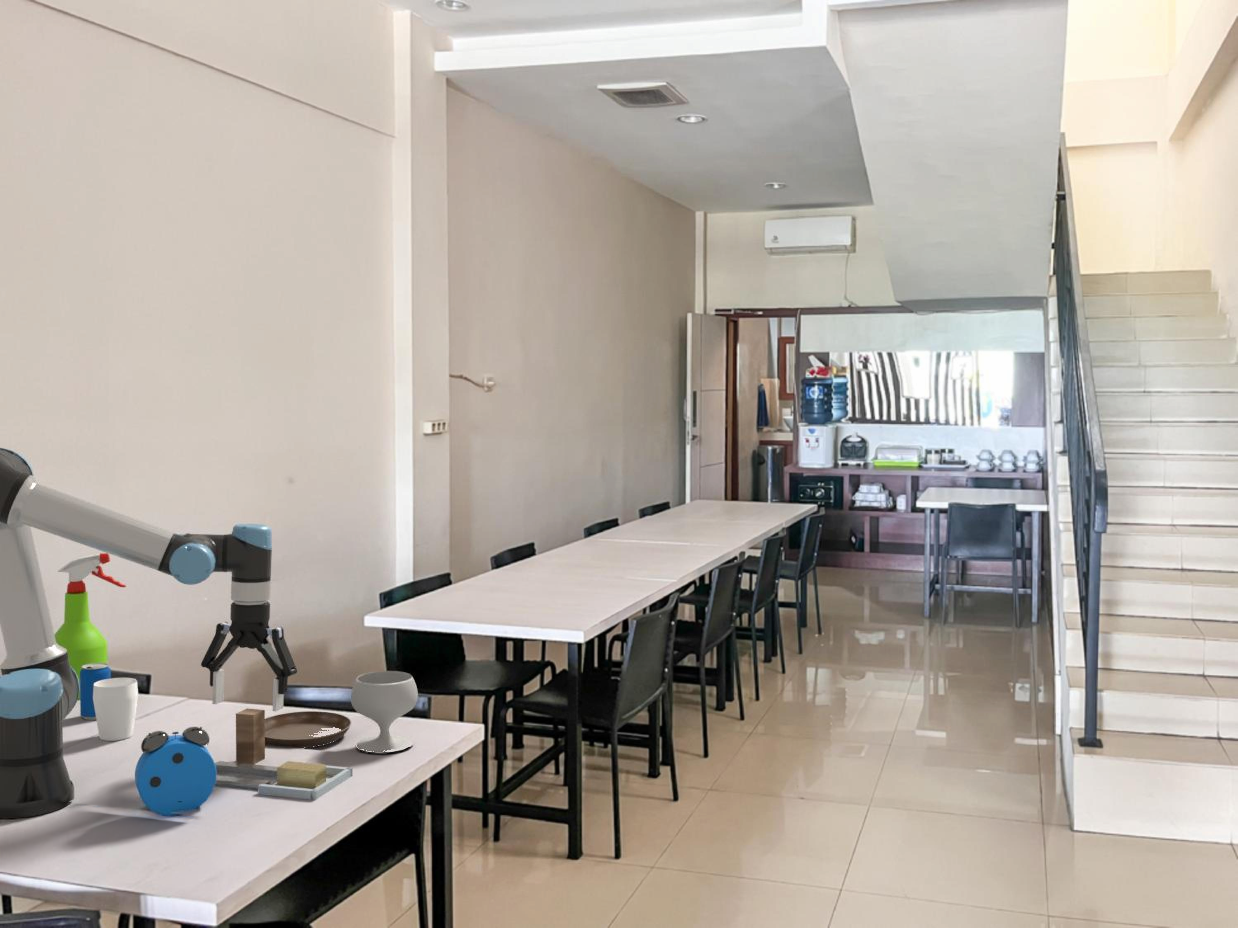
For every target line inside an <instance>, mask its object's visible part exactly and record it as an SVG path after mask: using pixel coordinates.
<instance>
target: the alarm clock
mask: <svg viewBox="0 0 1238 928" xmlns="http://www.w3.org/2000/svg"><path fill="white" fill-rule="evenodd" d="M209 744H210V736H209V733H208V732H207V731H206V730H205V729H203V727H202V726H200V727H198V726H189V727H187V728H185V729H184V730H183V731H182V733H181V734H179V731H172V733H171V735H169V734H168V733H167V732H165V731H163V730H155V731H152V732H148V734H146V736H145V737H144V738H143V740H142V741H141V744H140V749H141V752H142V753H141V755H140V756H139V759H138V761H137V763H136V765H135V770H134V781H135V782H134V783H135V787H136V788H137V792H138V795H139V797H140V799H141V801H142V803H143V804H144V805H145V806H146V808H148V809H149V810H151V811H152V812H154V813H156V814H158V815H162V816H167V817H178V816H183V815H184V814H182V812H186V811H193V810H197V809H198V808H199V807H200V806H202V805H203V804H205V802H206V801H207V800H208V799H209V798H210V796H211V794H212V793H213V791H214V788H215V786H216V785H215V783H216V775H217V773H216V766H215V763H216V762H215V761H214V759H213V756H212V755H211V753H210V752H209V750H208V749H207V747H206V746H209ZM179 812H181V813H179Z"/></svg>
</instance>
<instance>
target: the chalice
mask: <svg viewBox="0 0 1238 928" xmlns="http://www.w3.org/2000/svg"><path fill="white" fill-rule="evenodd" d="M351 689H352V690H351V694H350V700H351V701H350V702H351V705H352V708H353V709H354V711H356V712H357V713H358V714H359V715H362V716H364V717H365V718H368V719H369V720H371V721H373V722H375V723H376V724H377V726H378V727H379V731H380V732H379V735H378V736H372V737H368V738H363V739H362V740H360V741H358V742H357V743H356V744H357V747H358V748H359V749H364V751H366V750H367V751H372V752H373V751H374V752H383V751H384V750H385V751H387V750H391V749H397V748H400V747H405V745H408V744H409V743H408V742H410V741H409V739H410V738H408V737H406V736H401V735H391V734H390V727H391V725H392V723H394V721H396V720H397V719H399V718H401V717H402V716H405V715H406V714H407V713H409V712H410V711H412V709H414V707H416V704H417V702H418V699H419V692H418V688H417V684H416V682H415V679H414V677H413V675H411V673H408V672H404V671H398V670H378V671H377V670H376V671H371V672H366V673H362V674H359V675H358V676H357V677H356V679H355V681H354V683H353V686H352V688H351ZM400 736H401V737H400ZM407 738H408V739H407ZM385 751H384V752H385Z"/></svg>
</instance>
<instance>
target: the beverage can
mask: <svg viewBox="0 0 1238 928" xmlns="http://www.w3.org/2000/svg"><path fill="white" fill-rule="evenodd" d="M111 671H112V670H111V668H110V667H109V663H108V664H106V663H92V664H87V665H83V666H82V670H81V671H80V700H79V705H80V708H79V709H80V711H79V713H80V716H81V717H82V718H84V720H88V721H89V720H90V721H97V720H96V714H95V708H94V702H93V688H94V683H95V682H97V681H100V680H105V679H111V678H112V677H111V675H112V672H111Z"/></svg>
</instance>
